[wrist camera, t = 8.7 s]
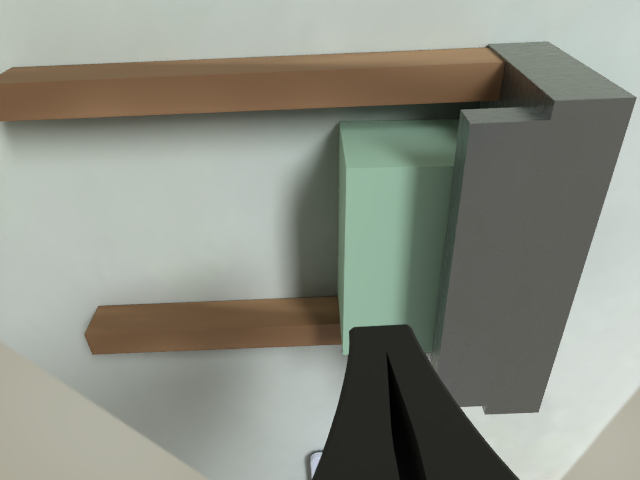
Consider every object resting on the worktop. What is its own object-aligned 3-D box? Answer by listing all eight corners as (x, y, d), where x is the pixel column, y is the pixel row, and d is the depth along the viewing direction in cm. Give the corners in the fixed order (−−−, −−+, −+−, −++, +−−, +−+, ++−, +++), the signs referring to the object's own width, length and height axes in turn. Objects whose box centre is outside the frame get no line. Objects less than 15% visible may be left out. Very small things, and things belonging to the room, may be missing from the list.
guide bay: (493, 311, 24) (538, 412, 19) (106, 327, 24) (58, 431, 19) (548, 41, 17) (636, 97, 13) (11, 64, 17) (-98, 128, 13)
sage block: (447, 286, 23) (471, 351, 20) (337, 289, 23) (342, 354, 20) (475, 116, 19) (511, 164, 16) (339, 119, 19) (346, 167, 16)
